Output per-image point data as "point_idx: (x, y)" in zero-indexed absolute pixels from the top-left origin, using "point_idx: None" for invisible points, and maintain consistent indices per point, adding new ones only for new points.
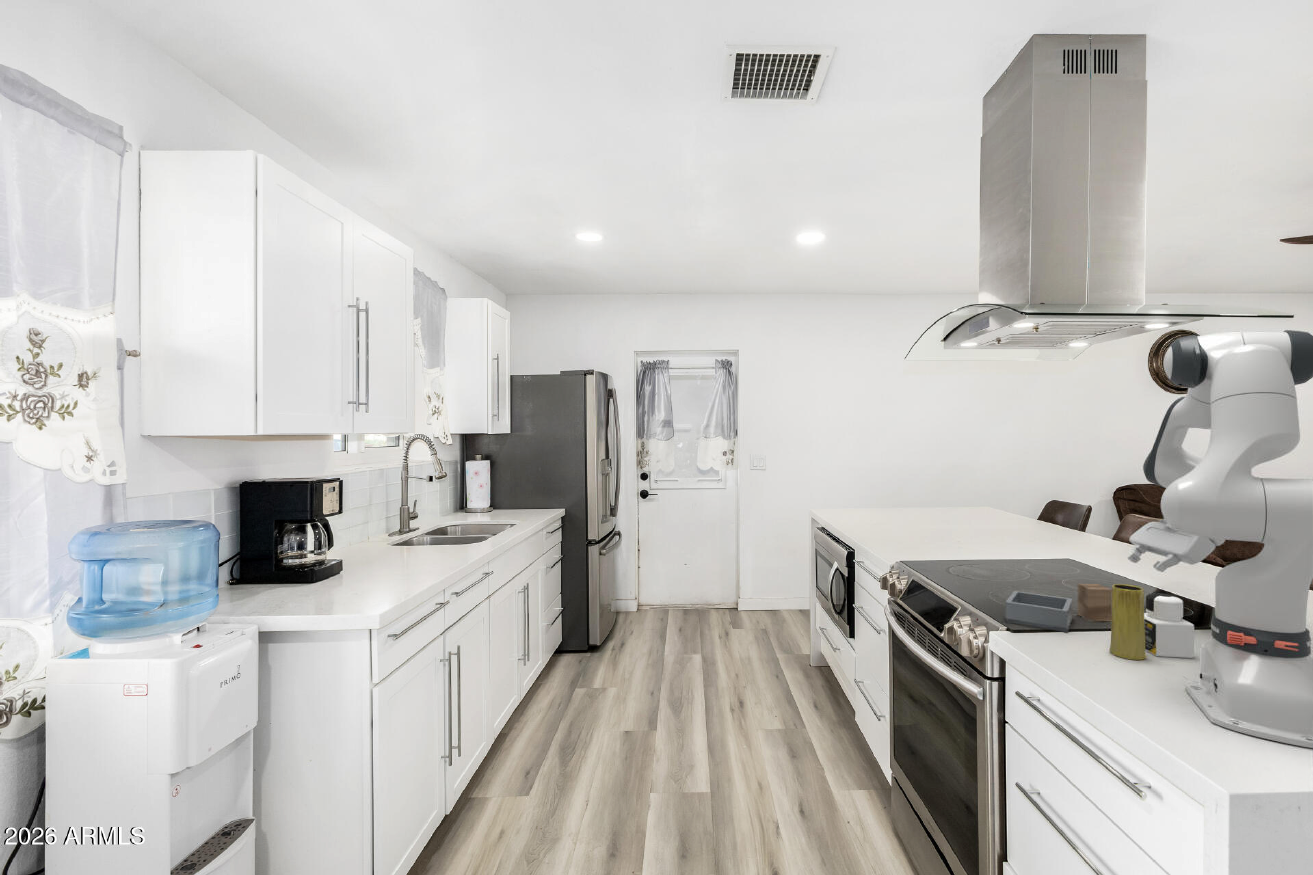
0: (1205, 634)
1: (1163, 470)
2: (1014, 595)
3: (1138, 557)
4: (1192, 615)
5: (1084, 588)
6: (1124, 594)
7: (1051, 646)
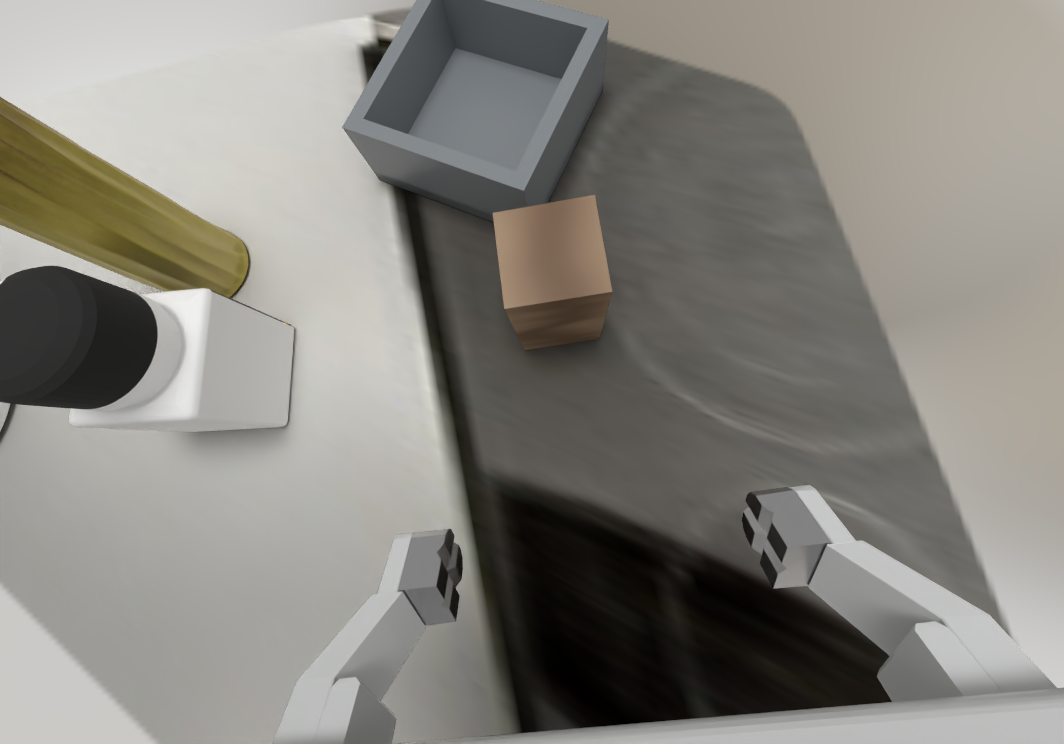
0: None
1: None
2: (531, 10)
3: (776, 567)
4: None
5: (534, 210)
6: None
7: (260, 113)
